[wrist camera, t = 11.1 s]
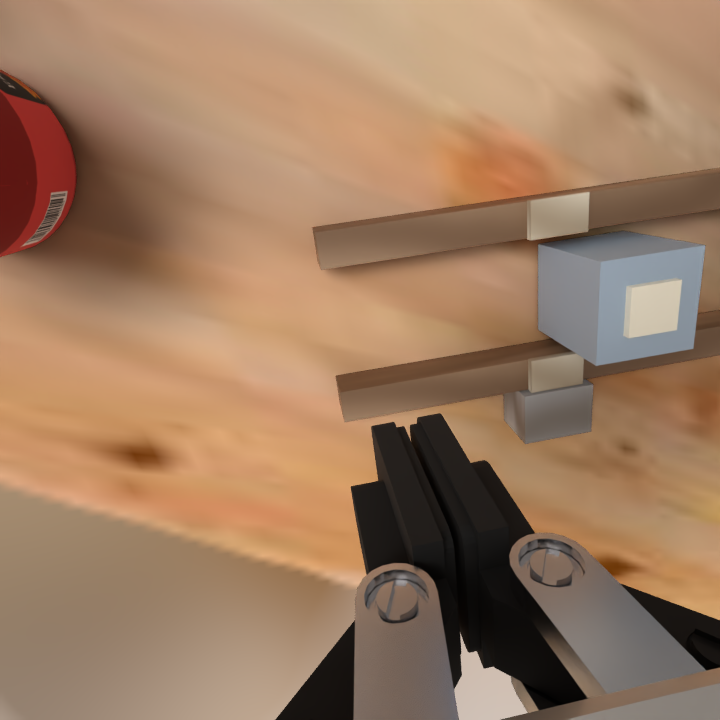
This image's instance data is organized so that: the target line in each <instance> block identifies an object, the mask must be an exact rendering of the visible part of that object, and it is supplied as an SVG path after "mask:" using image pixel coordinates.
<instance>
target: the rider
mask: <svg viewBox="0 0 720 720" xmlns="http://www.w3.org/2000/svg"><path fill="white" fill-rule="evenodd" d="M704 253H705V245H702V244H696V243H690V242H685V241H679V240H673V239H667V238H662V237H656V236H650V235H645V234H639V233H633V232H628V231H618V232H612V233H605V234H599V235H593V236H586V237H580V238H573V239H567V240H560V241H554V242H547V243H541V244H538V330H539V331H541V332H543V333H544V334H546V335H547V336H549V337H551V338H552V339H554V340H555V341H557V342H559V343H560V344H562V345H563V346H565V347H567V348H568V349H570V350H571V351H573V352H575V353H576V354H578V355H579V356H581V357H583V358H584V359H586V360H587V361H589V362H591V363H592V364H594V365H595V366H599V365H604V364H610V363H615V362H621V361H627V360H632V359H638V358H644V357H649V356H655V355H661V354H666V353H672V352H677V351H683V350H689V349H693V347H694V338H695V330H696V321H697V313H698V304H699V296H700V287H701V279H702V270H703V262H704Z"/></svg>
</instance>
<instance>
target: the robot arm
mask: <svg viewBox="0 0 720 720" xmlns="http://www.w3.org/2000/svg"><path fill="white" fill-rule="evenodd" d="M371 429H372V438H373V445H374V452H375V460H376V467H377V474H378V481H376V482H371V483H366V484H361V485H356V486H351V492H352V498H353V504H354V510H355V516H356V522H357V528H358V533H359V538H360V544H361V549H362V554H363V559H364V564H365V569H366V574H367V575H366V576H365V577H364V578H363V580H362V581H361V583H360V585H359V586H358V588H357V593H356V598H355V621H354V622H353V623H352V625H351V626H350V627H349V628H348V629H347V631H346V632H345V633H344V634H343V636H342V637H341V638H340V640H339V641H338V642H337V643H336V645H335V646H334V647H333V648H332V650H331V651H330V652H329V653H328V654H327V656H326V657H325V658H324V659H323V661H322V662H321V663H320V665H319V666H318V667H317V668H316V670H315V671H314V672H313V673H312V675H311V676H310V677H309V678H308V680H307V681H306V682H305V683H304V685H303V686H302V687H301V688H300V690H299V691H298V692H297V693H296V695H295V696H294V697H293V698H292V700H291V701H290V702H289V703H288V705H287V706H286V707H285V709H284V710H283V711H282V712H281V714H280V715H279V716H278V717H277V719H276V720H459V718H458V712H457V706H456V700H455V694H454V688H455V687H456V685H457V683H458V681H459V679H460V677H461V675H462V672H461V658H460V655H461V642H460V633H461V635H462V638H463V641H464V644H465V646H466V649H467V651H468V652H474V651H477V652H478V655H479V657H480V660H481V663H482V665H483V668H489V667H493V666H494V667H495V668H496V669H499V670H500V671H502V672H504V673H506V674H508V675H510V676H511V682H512V684H513V687H514V689H515V692H516V694H517V695H518V697H519V699H520V701H521V702H522V704H523V705H524V707H525V709H526V711H527V712H528V713H526V714H523V715H518V716H514V717H510V718H506V719H502V720H720V620H717V619H714V618H712V617H709V616H706V615H704V614H701V613H698V612H695V611H693V610H690V609H687V608H685V607H682V606H679V605H677V604H674V603H671V602H669V601H666V600H663V599H661V598H658V597H655V596H652V595H650V594H647V593H644V592H642V591H639V590H636V589H634V588H631V587H628V586H626V585H623V584H620V583H619V582H618V581H617V580H616V579H615V578H614V577H613V576H612V575H611V574H610V573H609V572H608V571H607V570H606V569H605V568H604V567H603V566H602V565H601V564H600V563H599V562H598V561H597V560H596V559H595V558H594V557H593V556H592V555H591V554H590V553H589V552H588V551H587V550H586V549H585V548H583V547H582V546H581V545H580V544H578V543H577V542H576V541H574V540H571V539H569V538H567V537H565V536H562V535H558V534H553V533H535V532H534V531H533V529H532V528H531V526H530V525H529V523H528V522H527V520H526V519H525V517H524V516H523V514H522V513H521V511H520V509H519V508H518V506H517V505H516V503H515V502H514V500H513V499H512V497H511V496H510V494H509V493H508V491H507V490H506V488H505V487H504V485H503V484H502V482H501V481H500V479H499V478H498V476H497V475H496V473H495V472H494V470H493V468H492V467H491V465H490V464H489V463H488V462H487V461H485V460H483V461H478V462H473V463H470V461H469V459H468V458H467V456H466V454H465V453H464V451H463V449H462V448H461V446H460V444H459V443H458V441H457V439H456V438H455V436H454V434H453V433H452V431H451V429H450V428H449V426H448V424H447V423H446V421H445V419H444V418H443V416H442V415H441V414H440V413H439V414H434V415H428V416H423V417H418V418H417V424H413V425H410V435H411V441H410V439H409V436H408V434H407V432H406V429H405V427H404V426H402V427H396V425H395V423H394V422H391V423H386V424H380V425H375V426H372V427H371Z"/></svg>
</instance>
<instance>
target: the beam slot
mask: <svg viewBox="0 0 720 720" xmlns="http://www.w3.org/2000/svg"><path fill="white" fill-rule="evenodd" d="M716 209H720V168H716V169H709V170H702V171H695V172H688V173H681V174H674V175H668V176H661V177H654V178H647V179H640V180H633V181H627V182H620V183H613V184H606V185H599V186H592V187H585V188H579V189H572V190H565V191H558V192H551V193H544V194H538V195H531V196H524V197H517V198H510V199H503V200H496V201H490V202H483V203H476V204H469V205H462V206H455V207H448V208H442V209H435V210H428V211H421V212H414V213H407V214H401V215H394V216H387V217H380V218H373V219H366V220H359V221H353V222H346V223H339V224H332V225H325V226H318V227H313V234H314V240H315V246H316V253H317V259H318V263H319V266H320V269H321V270H325V269H332V268H338V267H345V266H351V265H358V264H364V263H371V262H377V261H384V260H390V259H397V258H403V257H410V256H416V255H423V254H429V253H436V252H442V251H449V250H455V249H462V248H468V247H475V246H482V245H488V244H495V243H501V242H508V241H514V240H521V239H528V240H537V239H544V238H550V237H557V236H563V235H570V234H576V233H583V232H588V229H592V228H599V227H605V226H612V225H618V224H625V223H632V222H638V221H645V220H651V219H658V218H664V217H671V216H677V215H684V214H690V213H697V212H703V211H710V210H716ZM717 355H720V310H717V311H711V312H705V313H699V314H697V321H696V330H695V338H694V347H693V349H689V350H683V351H677V352H672V353H666V354H661V355H655V356H649V357H644V358H638V359H632V360H627V361H621V362H615V363H610V364H604V365H599V366H595V365H594V364H592V363H591V362H589V361H587V360H586V359H584V358H583V357H581V356H579V355H578V354H576V353H575V352H573V351H571V350H570V349H568V348H567V347H565V346H563V345H562V344H560V343H559V342H557V341H555V340H554V339H548V340H542V341H536V342H530V343H524V344H519V345H513V346H507V347H501V348H495V349H489V350H483V351H478V352H472V353H466V354H460V355H454V356H448V357H443V358H437V359H431V360H425V361H419V362H413V363H408V364H402V365H396V366H390V367H384V368H378V369H373V370H367V371H361V372H355V373H349V374H343V375H338V376H336V381H337V387H338V393H339V400H340V405H341V409H342V414H343V418H344V422H349V421H355V420H360V419H366V418H372V417H377V416H383V415H388V414H394V413H400V412H405V411H411V410H416V409H422V408H427V407H433V406H439V405H444V404H450V403H455V402H461V401H466V400H472V399H478V398H483V397H489V396H494V395H500V394H504V420H505V422H506V423H507V424H508V425H509V426H510V427H511V428H512V430H513V431H514V432H515V433H516V434H517V435H518V436H519V437H520V439H521V440H522V441H523V442H524V443H525V444H528V443H533V442H538V441H544V440H549V439H554V438H559V437H565V436H570V435H575V434H581V433H586V432H591V425H592V402H593V384H592V383H590V382H589V381H587V380H586V379H589V378H595V377H600V376H606V375H611V374H617V373H623V372H628V371H634V370H639V369H645V368H651V367H656V366H662V365H667V364H673V363H678V362H684V361H690V360H695V359H701V358H706V357H712V356H717Z"/></svg>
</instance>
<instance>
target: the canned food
mask: <svg viewBox="0 0 720 720" xmlns="http://www.w3.org/2000/svg"><path fill="white" fill-rule="evenodd" d="M76 182H77V176H76V163H75V159H74V155H73V150H72V147H71V144H70V142H69V140H68V137H67V135H66V133H65V131H64V129H63V127H62V126H61V124H60V123H59V121H58V120H57V118H56V117H55V115H54V114H53V112H52V111H51V109H50V108H49V107H48V106H47V105H46V104H45V103H44V102H43V100H42V99H41V98H40V97H39V96H38V95H37V94H36V93H35V92H34V91H32V90H31V89H30V88H29V87H27V86H26V85H25V84H24V83H22V82H21V81H20V80H18V79H17V78H15V77H13V76H11V75H9V74H8V73H6V72H4V71H2V70H0V257H2V256H5V255H8V254H12V253H15V252H18V251H21V250H24V249H27V248H30V247H34V246H35V245H37V244H39V243H41V242H42V241H44V240H46V239H47V238H48V237H50V236H51V235H52V234H53V233H54V232H55V231H56V230H57V229H58V228H59V227H60V225H61V223H62V222H63V220H64V219H65V217H66V216H67V214H68V212H69V210H70V207H71V204H72V202H73V199H74V196H75V189H76Z"/></svg>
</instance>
